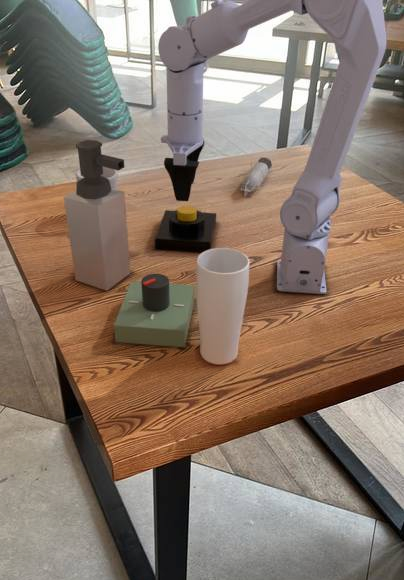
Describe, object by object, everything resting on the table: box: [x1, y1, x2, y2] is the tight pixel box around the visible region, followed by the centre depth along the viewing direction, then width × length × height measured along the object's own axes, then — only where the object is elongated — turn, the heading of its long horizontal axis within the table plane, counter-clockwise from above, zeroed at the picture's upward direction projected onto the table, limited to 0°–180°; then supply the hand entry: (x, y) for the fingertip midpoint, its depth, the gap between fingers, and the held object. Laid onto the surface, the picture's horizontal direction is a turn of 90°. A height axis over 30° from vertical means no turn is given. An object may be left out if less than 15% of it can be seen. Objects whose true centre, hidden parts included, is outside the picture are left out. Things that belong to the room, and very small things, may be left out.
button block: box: [154, 209, 217, 253], centre depth 107 cm, size 12×10×4 cm
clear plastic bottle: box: [239, 156, 273, 197], centre depth 126 cm, size 18×5×7 cm, turn 161°
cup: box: [75, 167, 119, 190], centre depth 112 cm, size 11×8×8 cm
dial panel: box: [113, 280, 195, 348], centre depth 85 cm, size 12×10×3 cm
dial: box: [140, 273, 170, 311], centre depth 83 cm, size 4×4×4 cm
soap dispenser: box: [63, 139, 131, 291], centre depth 89 cm, size 6×9×22 cm
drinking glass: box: [195, 247, 251, 366], centre depth 76 cm, size 7×7×15 cm
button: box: [176, 205, 198, 222], centre depth 105 cm, size 4×4×2 cm
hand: (185, 191), depth 101 cm, fingers open, 7 cm apart
